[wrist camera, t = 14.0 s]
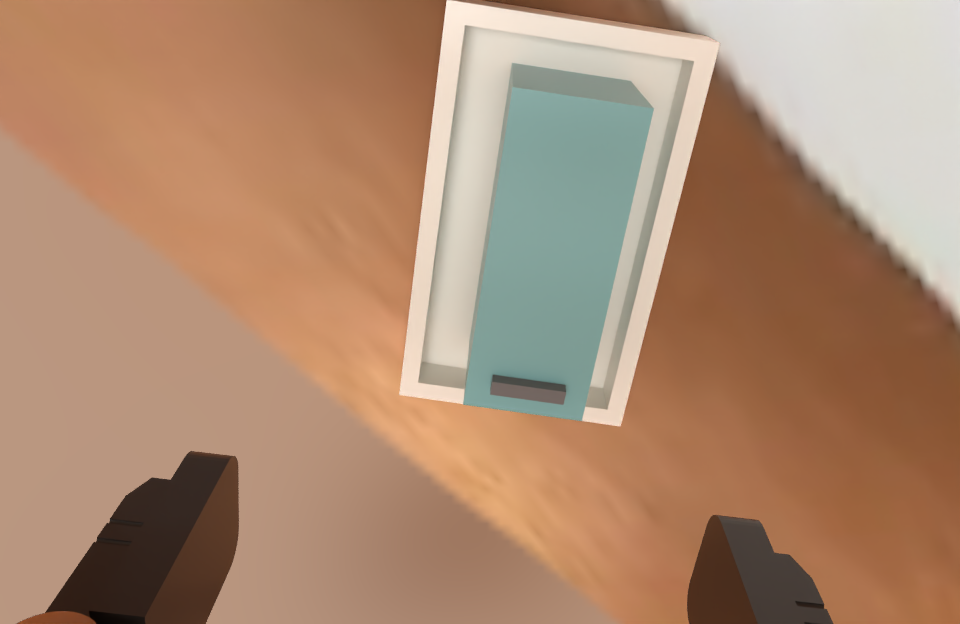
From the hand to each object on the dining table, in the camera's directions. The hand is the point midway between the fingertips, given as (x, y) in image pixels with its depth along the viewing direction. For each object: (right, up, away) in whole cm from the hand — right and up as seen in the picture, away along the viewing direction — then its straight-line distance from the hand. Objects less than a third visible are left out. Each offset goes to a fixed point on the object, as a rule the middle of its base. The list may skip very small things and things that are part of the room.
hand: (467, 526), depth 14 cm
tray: (+3, +8, +23) cm, 25 cm away
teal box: (+3, +8, +23) cm, 24 cm away
